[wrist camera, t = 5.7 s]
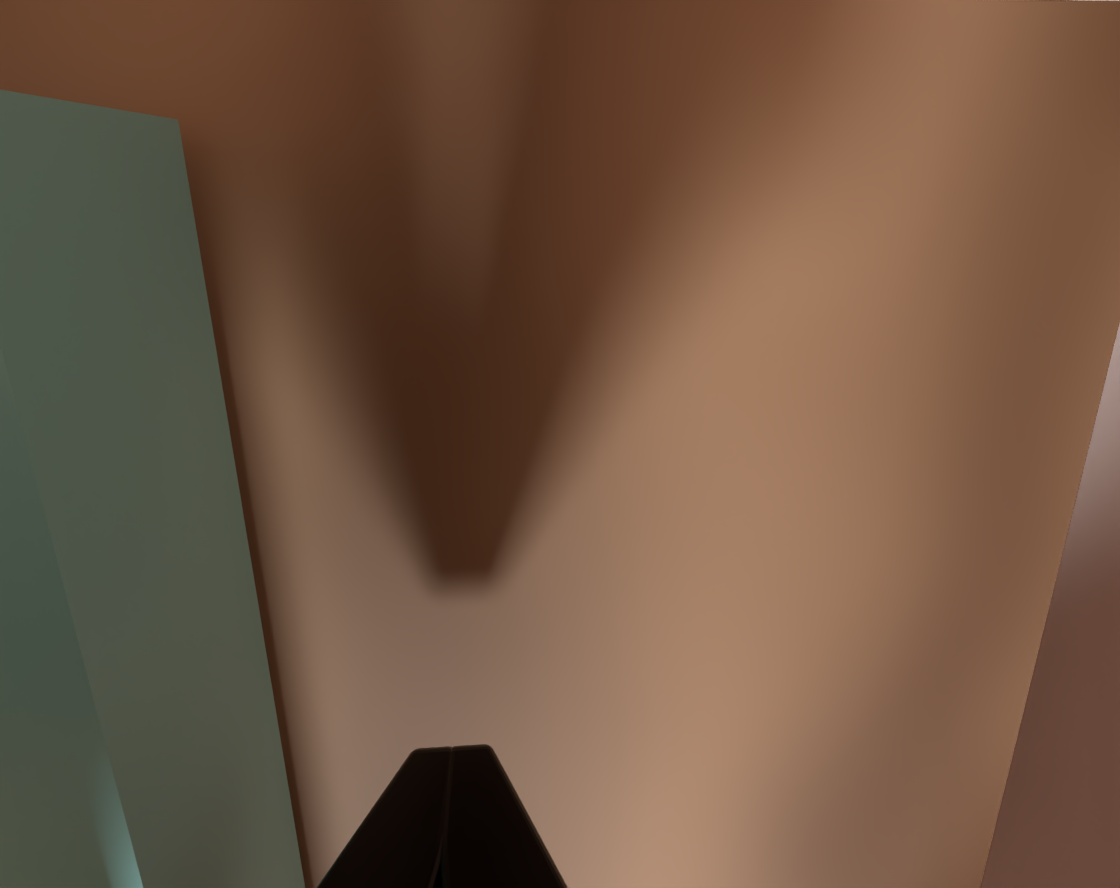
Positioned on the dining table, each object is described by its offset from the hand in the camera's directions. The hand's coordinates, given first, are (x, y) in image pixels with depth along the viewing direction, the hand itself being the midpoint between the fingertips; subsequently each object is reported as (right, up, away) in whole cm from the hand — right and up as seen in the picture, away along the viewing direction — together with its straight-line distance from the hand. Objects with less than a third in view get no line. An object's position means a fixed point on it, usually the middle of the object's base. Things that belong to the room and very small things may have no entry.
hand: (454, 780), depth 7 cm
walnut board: (0, +1, +3) cm, 4 cm away
